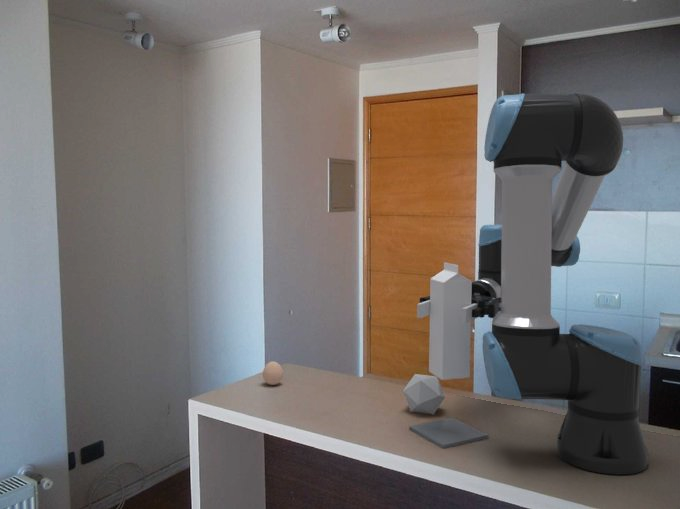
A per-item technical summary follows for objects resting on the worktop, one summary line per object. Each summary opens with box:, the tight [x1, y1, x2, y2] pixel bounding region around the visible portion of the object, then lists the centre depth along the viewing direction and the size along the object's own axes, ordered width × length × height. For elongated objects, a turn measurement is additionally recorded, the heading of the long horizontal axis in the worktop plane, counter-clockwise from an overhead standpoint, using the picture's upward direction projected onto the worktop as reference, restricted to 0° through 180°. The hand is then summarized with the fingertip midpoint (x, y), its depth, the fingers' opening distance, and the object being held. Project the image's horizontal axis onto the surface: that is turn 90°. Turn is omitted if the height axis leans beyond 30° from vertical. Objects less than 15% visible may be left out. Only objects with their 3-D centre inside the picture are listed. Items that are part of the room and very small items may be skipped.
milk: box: [428, 261, 473, 381], centre depth 120 cm, size 6×6×22 cm
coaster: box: [408, 417, 489, 449], centre depth 121 cm, size 11×11×1 cm
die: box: [402, 373, 446, 416], centre depth 134 cm, size 8×9×10 cm
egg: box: [262, 361, 284, 386], centre depth 154 cm, size 5×5×6 cm
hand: (440, 313), depth 116 cm, fingers closed on milk, 8 cm apart
